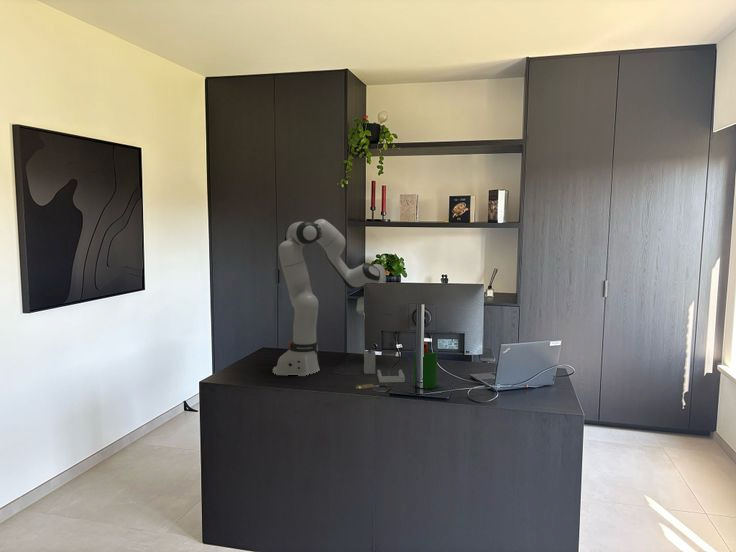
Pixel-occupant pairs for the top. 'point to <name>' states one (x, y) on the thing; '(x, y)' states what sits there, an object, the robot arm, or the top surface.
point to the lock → (369, 362)
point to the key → (364, 386)
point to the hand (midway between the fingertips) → (375, 318)
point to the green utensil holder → (428, 368)
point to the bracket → (391, 377)
